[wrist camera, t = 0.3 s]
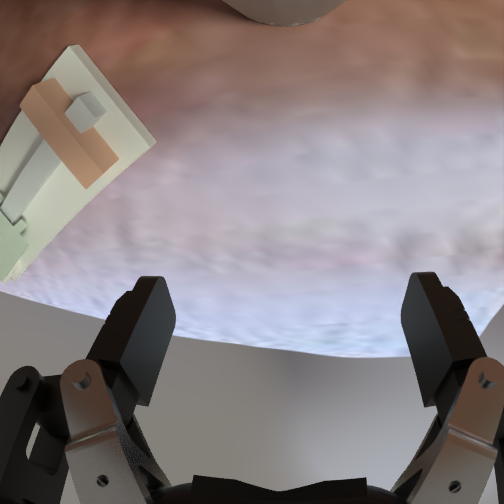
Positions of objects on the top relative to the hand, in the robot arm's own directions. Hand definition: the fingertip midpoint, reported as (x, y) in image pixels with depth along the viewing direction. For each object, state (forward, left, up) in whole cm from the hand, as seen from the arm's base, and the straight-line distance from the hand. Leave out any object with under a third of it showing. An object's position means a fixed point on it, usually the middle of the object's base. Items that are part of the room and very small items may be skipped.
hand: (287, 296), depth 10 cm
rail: (+3, -28, -17) cm, 33 cm away
